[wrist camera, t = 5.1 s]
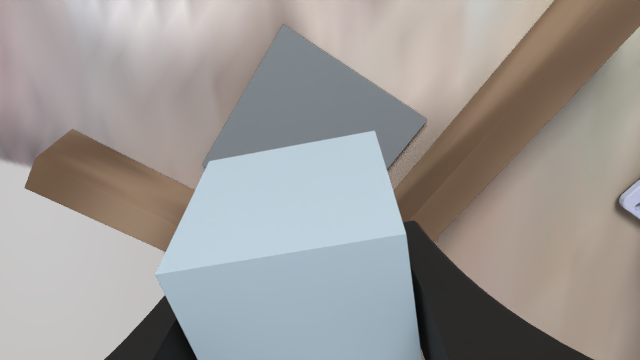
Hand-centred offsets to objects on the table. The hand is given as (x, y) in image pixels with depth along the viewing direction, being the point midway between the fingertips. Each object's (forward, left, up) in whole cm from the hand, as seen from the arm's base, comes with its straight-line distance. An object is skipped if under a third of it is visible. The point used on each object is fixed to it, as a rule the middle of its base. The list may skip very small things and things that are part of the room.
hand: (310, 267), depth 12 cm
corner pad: (0, 0, -9) cm, 9 cm away
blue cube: (0, 0, -2) cm, 2 cm away
